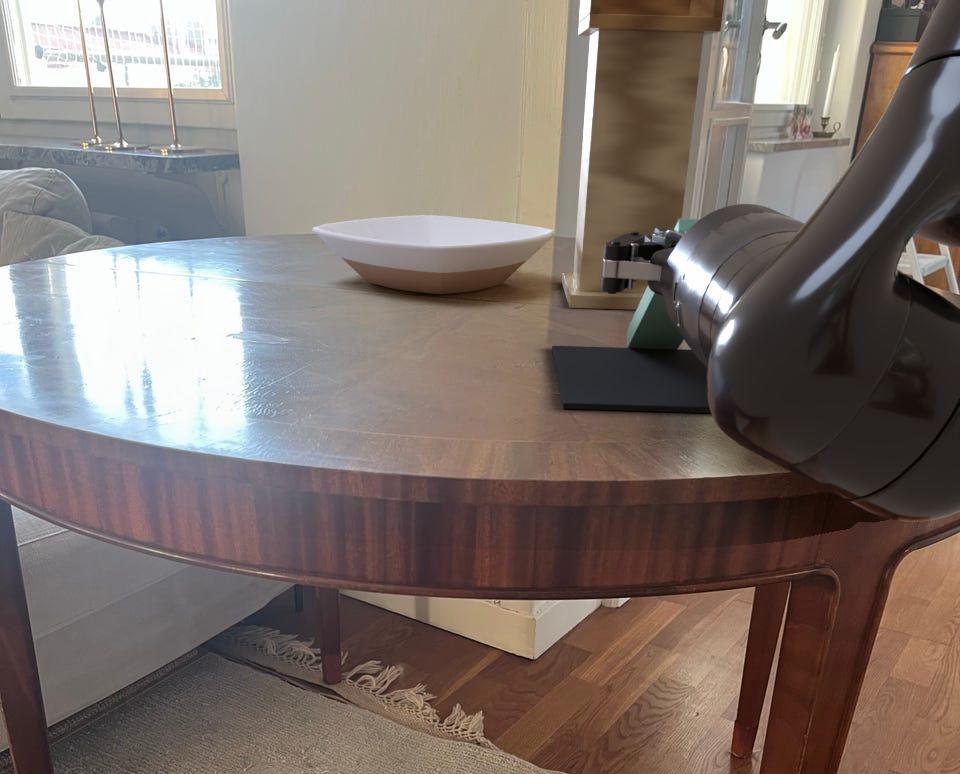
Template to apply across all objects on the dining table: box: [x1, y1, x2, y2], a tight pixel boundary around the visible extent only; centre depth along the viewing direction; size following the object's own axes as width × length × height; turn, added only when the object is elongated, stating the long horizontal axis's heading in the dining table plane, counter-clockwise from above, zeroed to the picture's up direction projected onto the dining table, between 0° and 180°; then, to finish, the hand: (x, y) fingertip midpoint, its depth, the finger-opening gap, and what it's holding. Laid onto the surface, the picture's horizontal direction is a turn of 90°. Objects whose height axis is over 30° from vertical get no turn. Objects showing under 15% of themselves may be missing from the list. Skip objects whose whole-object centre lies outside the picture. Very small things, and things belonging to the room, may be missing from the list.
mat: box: [551, 345, 711, 414], centre depth 68 cm, size 16×16×1 cm
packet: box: [626, 218, 701, 349], centre depth 66 cm, size 4×20×2 cm
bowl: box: [312, 214, 556, 295], centre depth 99 cm, size 22×22×5 cm
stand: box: [561, 0, 725, 311], centre depth 90 cm, size 11×13×26 cm
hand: (692, 246), depth 61 cm, fingers closed on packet, 4 cm apart
